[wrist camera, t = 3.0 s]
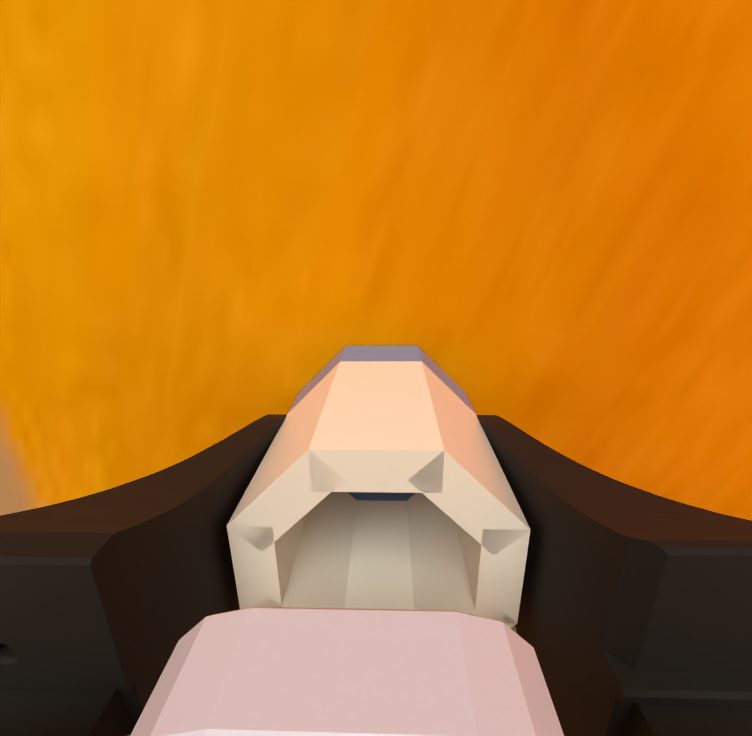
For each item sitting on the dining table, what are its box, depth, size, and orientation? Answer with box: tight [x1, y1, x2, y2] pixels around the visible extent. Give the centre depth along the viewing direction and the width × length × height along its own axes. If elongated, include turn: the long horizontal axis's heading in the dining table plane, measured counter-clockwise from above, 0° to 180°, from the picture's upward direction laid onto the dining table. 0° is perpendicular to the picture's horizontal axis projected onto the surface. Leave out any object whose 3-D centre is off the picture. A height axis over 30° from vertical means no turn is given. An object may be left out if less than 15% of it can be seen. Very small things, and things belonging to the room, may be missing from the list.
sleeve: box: [227, 346, 530, 628], centre depth 10 cm, size 5×5×6 cm
